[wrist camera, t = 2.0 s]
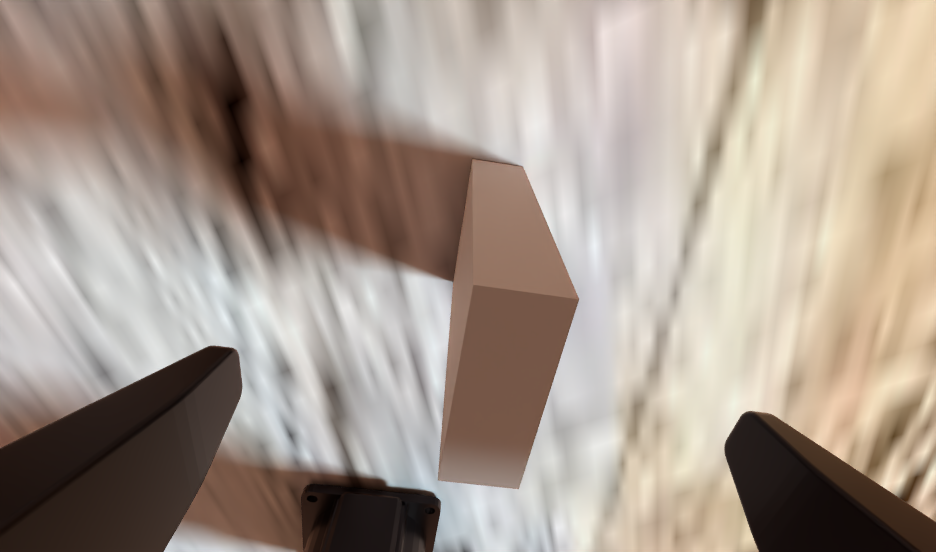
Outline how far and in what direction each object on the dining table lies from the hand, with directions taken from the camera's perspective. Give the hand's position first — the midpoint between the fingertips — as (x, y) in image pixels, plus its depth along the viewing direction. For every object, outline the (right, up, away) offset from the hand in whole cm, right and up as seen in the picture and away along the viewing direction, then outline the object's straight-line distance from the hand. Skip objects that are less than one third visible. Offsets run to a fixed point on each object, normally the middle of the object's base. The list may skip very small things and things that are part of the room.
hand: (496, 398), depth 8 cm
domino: (0, +4, +7) cm, 8 cm away
